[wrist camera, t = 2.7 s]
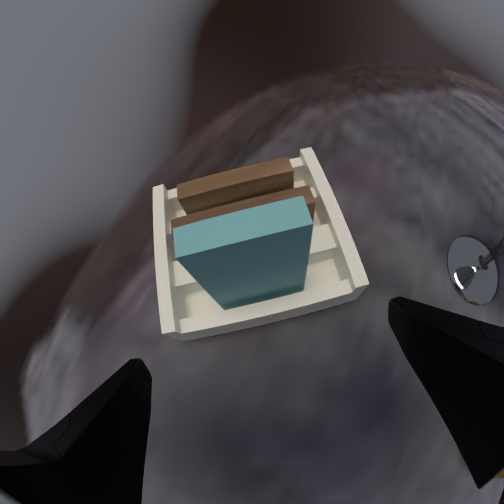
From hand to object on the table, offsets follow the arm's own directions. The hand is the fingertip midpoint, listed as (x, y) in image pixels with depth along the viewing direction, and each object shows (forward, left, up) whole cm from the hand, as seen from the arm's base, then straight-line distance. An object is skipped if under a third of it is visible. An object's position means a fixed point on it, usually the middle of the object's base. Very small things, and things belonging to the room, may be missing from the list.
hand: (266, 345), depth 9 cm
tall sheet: (+3, -4, -11) cm, 12 cm away
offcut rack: (+6, -7, -12) cm, 15 cm away
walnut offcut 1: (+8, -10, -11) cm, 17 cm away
